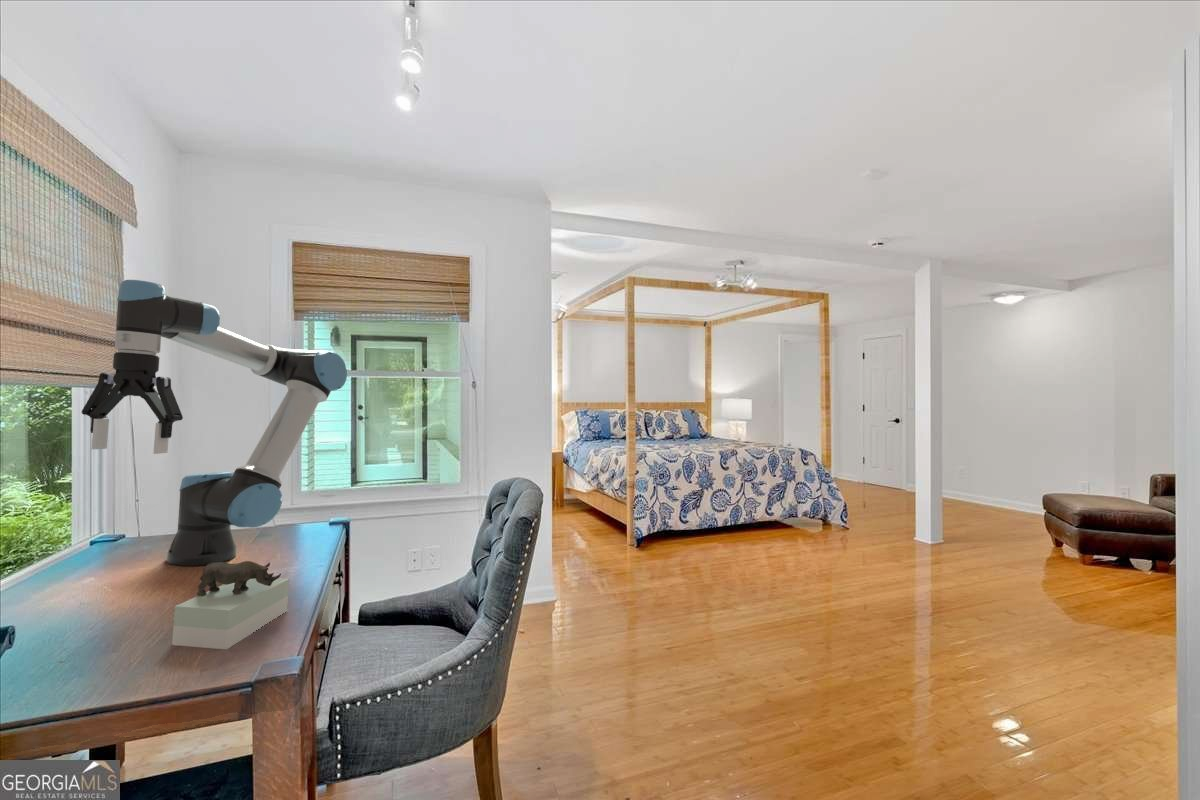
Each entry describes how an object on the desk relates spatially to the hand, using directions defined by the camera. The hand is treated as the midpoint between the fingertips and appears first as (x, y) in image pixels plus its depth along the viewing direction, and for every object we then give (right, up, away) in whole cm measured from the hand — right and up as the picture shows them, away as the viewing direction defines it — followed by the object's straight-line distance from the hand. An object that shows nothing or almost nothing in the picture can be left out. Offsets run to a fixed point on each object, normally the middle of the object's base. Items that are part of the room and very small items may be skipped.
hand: (129, 451), depth 117 cm
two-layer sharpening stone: (+30, -34, -10) cm, 46 cm away
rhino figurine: (+31, -27, -10) cm, 42 cm away
